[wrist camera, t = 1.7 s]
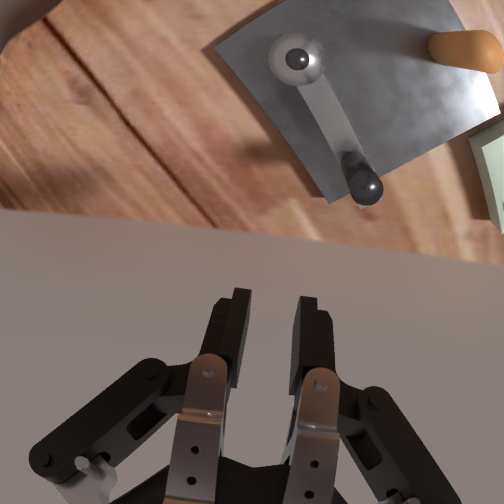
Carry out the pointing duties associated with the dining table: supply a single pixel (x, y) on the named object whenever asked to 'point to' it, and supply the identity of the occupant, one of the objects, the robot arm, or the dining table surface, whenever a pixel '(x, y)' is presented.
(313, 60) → the crank
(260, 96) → the crank base
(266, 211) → the dining table surface
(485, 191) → the tray
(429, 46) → the pin
